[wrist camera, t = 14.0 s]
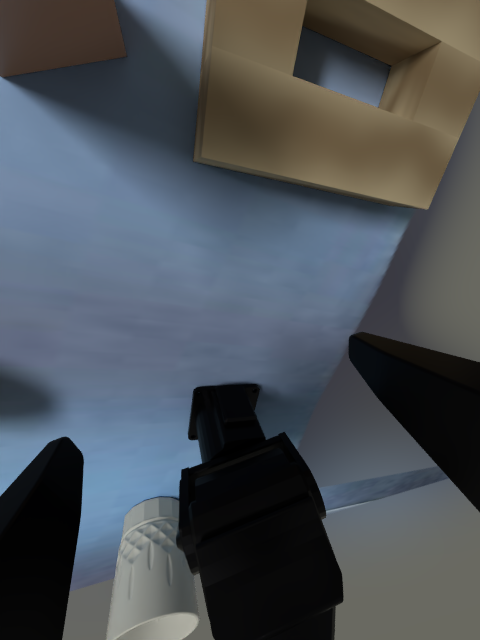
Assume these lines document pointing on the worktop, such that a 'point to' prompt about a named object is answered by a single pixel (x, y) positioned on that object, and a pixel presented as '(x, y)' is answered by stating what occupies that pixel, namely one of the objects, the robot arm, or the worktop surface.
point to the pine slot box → (338, 95)
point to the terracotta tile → (57, 34)
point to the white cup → (152, 577)
